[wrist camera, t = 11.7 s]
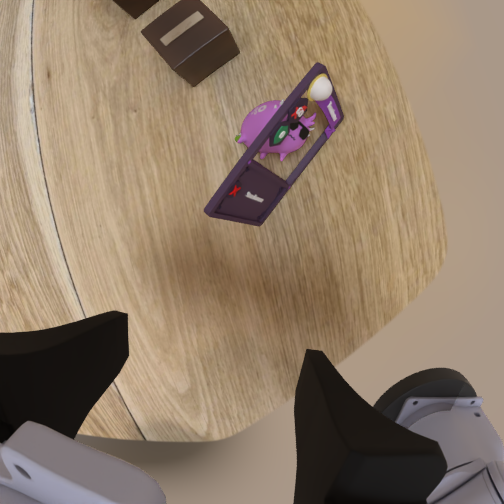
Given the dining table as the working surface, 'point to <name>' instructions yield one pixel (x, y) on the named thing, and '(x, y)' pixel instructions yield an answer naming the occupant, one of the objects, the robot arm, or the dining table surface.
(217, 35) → the brown box
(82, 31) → the dining table surface
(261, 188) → the game card
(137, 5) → the brown box
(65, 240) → the dining table surface
